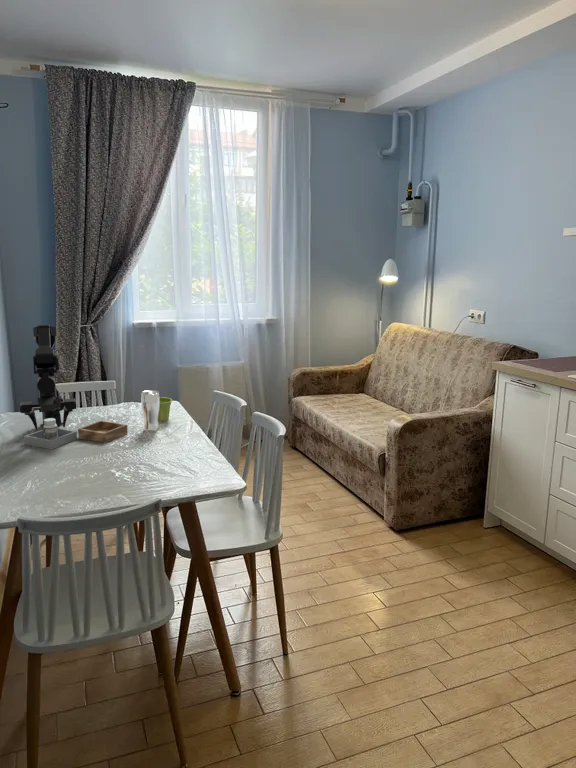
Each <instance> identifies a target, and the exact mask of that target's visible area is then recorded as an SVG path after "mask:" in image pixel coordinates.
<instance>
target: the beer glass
mask: <svg viewBox="0 0 576 768" xmlns="http://www.w3.org/2000/svg"><path fill="white" fill-rule="evenodd" d="M159 393H160V391H158V390H144V391H141V398H140V399H141V400H140V401H141V404H140V405H141V410H142V415H143V421H144V423H143V424H144V425H143V431H145V432H156V431H159V430H160V425H159V422H158V415H159V407H160V400H159V397H160V394H159Z"/></svg>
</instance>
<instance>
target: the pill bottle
mask: <svg viewBox="0 0 576 768" xmlns="http://www.w3.org/2000/svg"><path fill="white" fill-rule="evenodd" d="M55 423H56V419H54V418H48V419H45V420H44V424H45V425H44V426H42V430H44V438H43V439H47V440H52V439H55V438H58V430H57V428H58V426H57V424H55Z"/></svg>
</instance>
